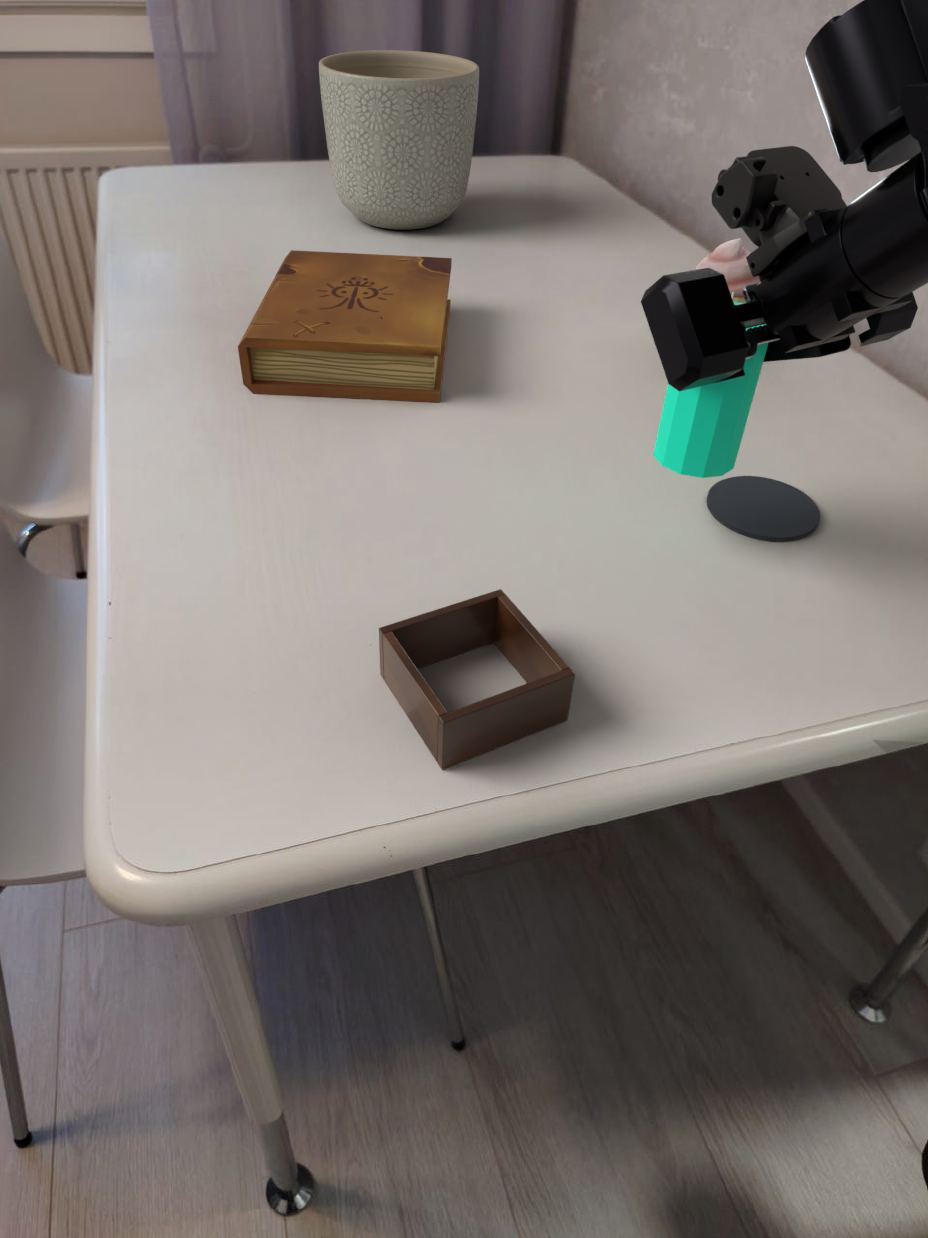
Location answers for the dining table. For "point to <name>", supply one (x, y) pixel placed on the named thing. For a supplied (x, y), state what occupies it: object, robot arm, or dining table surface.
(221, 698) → the dining table surface
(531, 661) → the holder
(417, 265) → the diary
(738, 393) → the candle
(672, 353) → the robot arm
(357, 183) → the planter
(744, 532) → the coaster
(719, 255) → the cupcake
